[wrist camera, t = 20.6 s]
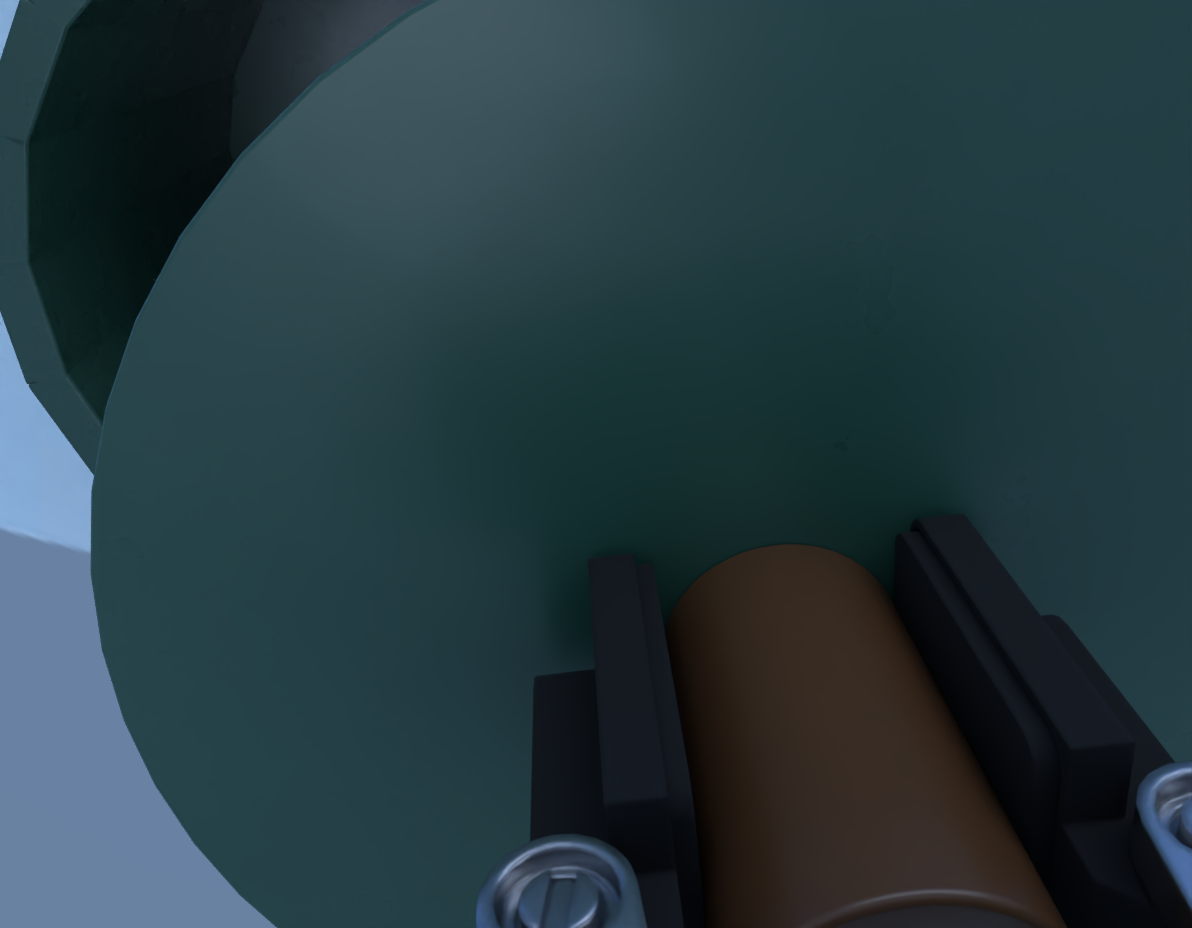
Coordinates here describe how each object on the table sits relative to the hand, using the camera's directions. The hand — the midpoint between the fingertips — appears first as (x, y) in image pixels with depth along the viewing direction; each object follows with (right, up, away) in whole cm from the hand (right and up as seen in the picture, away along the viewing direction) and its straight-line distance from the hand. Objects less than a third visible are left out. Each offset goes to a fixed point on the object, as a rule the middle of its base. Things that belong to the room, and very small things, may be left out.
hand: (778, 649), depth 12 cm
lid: (0, 0, +1) cm, 1 cm away
